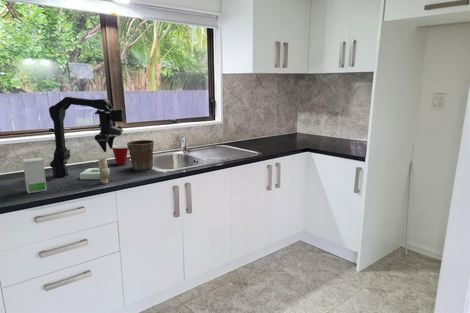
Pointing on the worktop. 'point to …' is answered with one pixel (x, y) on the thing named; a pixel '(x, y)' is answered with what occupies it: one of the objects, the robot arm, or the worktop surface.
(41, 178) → the skincare box
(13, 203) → the worktop surface
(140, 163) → the plant pot
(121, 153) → the plastic cup
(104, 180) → the ash peg
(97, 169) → the socket board
